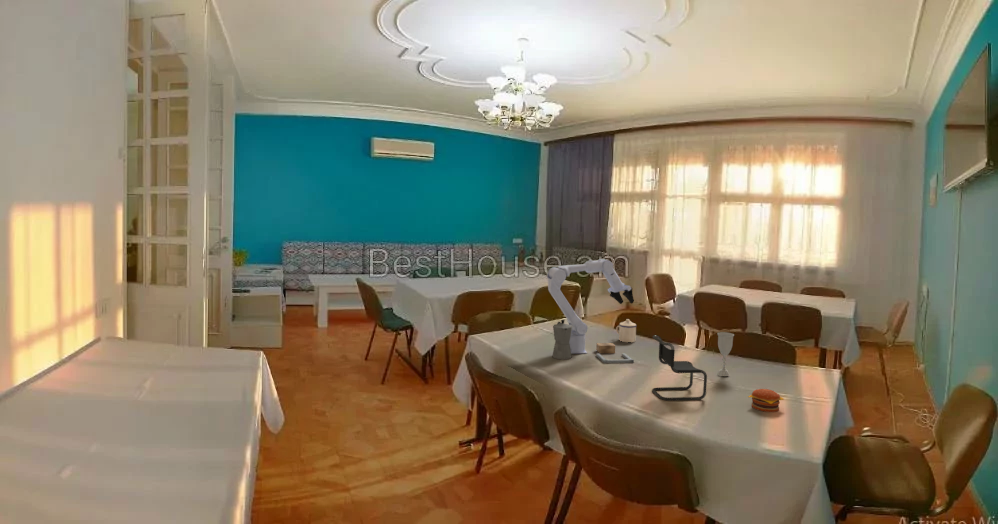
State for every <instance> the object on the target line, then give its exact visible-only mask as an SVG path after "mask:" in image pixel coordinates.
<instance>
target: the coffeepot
mask: <svg viewBox="0 0 998 524" xmlns="http://www.w3.org/2000/svg"><path fill="white" fill-rule="evenodd" d="M552 328H553V330H552V331H553V337H554V341H555V342H554V346H553V352H552V358H554V359H557V360H569V359H571V358H572V354H571V349H570V344H569V340H570V337H571V331H572V326H571V325H569V323H565V319H561V321H558V322H557V323H556V324H553V325H552Z"/></svg>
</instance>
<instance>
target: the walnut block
mask: <svg viewBox="0 0 998 524" xmlns="http://www.w3.org/2000/svg"><path fill="white" fill-rule="evenodd" d="M595 349H596V350H597V351H598V352H599V353H598V352H597V351H596V352H597V353H598V354H615V353H616V345H615V344H614V343H613V342H597V343H596V348H595Z"/></svg>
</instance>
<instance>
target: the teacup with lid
mask: <svg viewBox="0 0 998 524" xmlns="http://www.w3.org/2000/svg"><path fill="white" fill-rule="evenodd" d="M615 330H616V333H617V335H618V340H620V342H621V341H622V342H621V343H628V342H631V343H635V342H636V339H637V338H636V336H637V324H636V323H634V322H632V321H631V320H630V319H629V318H626V320H625V321H621V322H619V324H618V325H617V326H616V327H615Z"/></svg>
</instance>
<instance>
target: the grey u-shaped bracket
mask: <svg viewBox="0 0 998 524" xmlns="http://www.w3.org/2000/svg"><path fill="white" fill-rule="evenodd" d="M621 355H622V357H623V358H624V359H622V358H621V359H619V358H618V359H606V358H605V357H604V356H603V355H602V353H596V354H595V356H596V357H597V358H598V359H599V360H600V361H601V362H603V364H627V363H628V364H630V363H631V364H633V363H635V362H634V361H635V360H634V359H633V358H631V357H630V356H629V355H628V354H627V353H625V352H621ZM621 355H620V356H621Z"/></svg>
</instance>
